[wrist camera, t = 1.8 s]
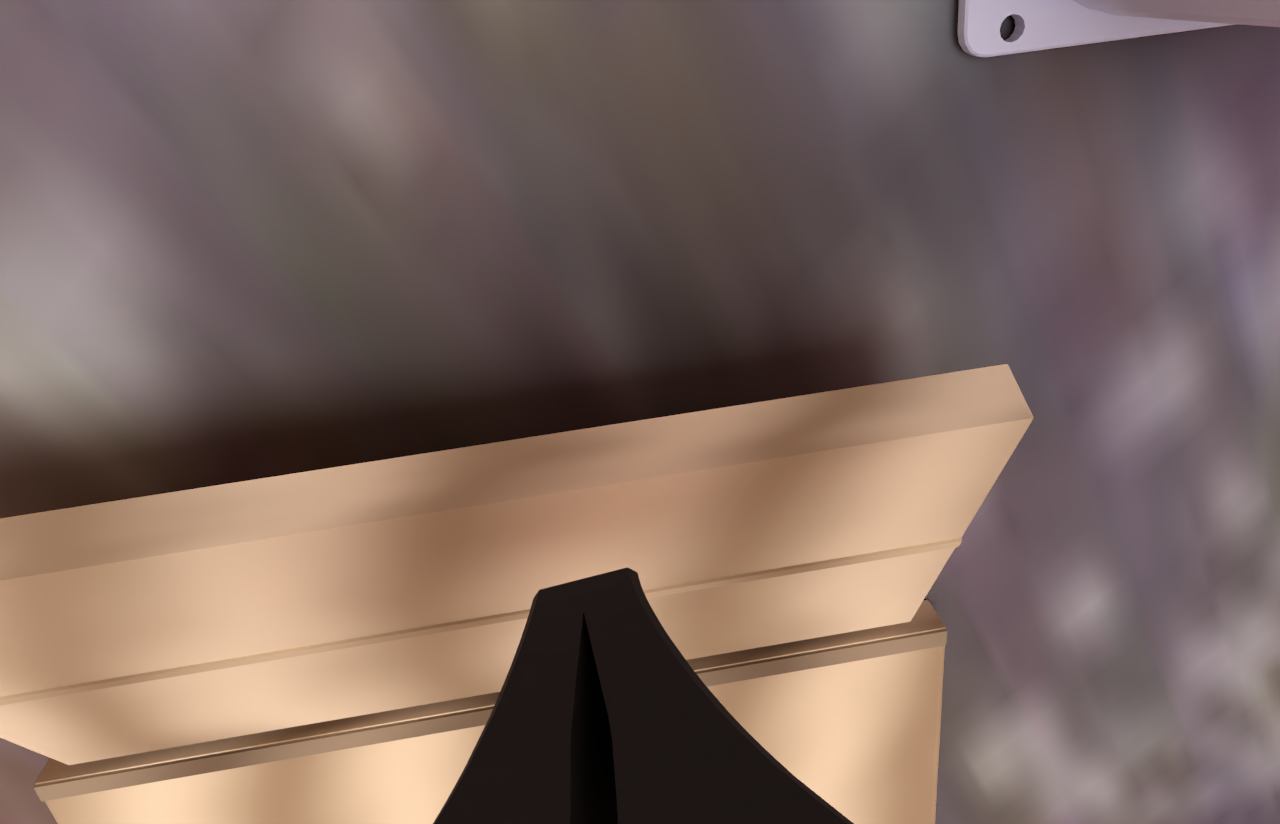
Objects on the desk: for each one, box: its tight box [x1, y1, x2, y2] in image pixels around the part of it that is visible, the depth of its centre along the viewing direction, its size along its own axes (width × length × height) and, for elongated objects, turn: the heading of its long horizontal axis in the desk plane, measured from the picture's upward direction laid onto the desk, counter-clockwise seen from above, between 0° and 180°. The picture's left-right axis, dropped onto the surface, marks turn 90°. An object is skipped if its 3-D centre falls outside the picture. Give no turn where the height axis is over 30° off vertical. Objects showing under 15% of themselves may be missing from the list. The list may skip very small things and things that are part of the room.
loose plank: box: [0, 364, 1034, 765], centre depth 20 cm, size 22×10×1 cm
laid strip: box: [34, 600, 947, 824], centre depth 26 cm, size 24×8×1 cm, turn 96°
